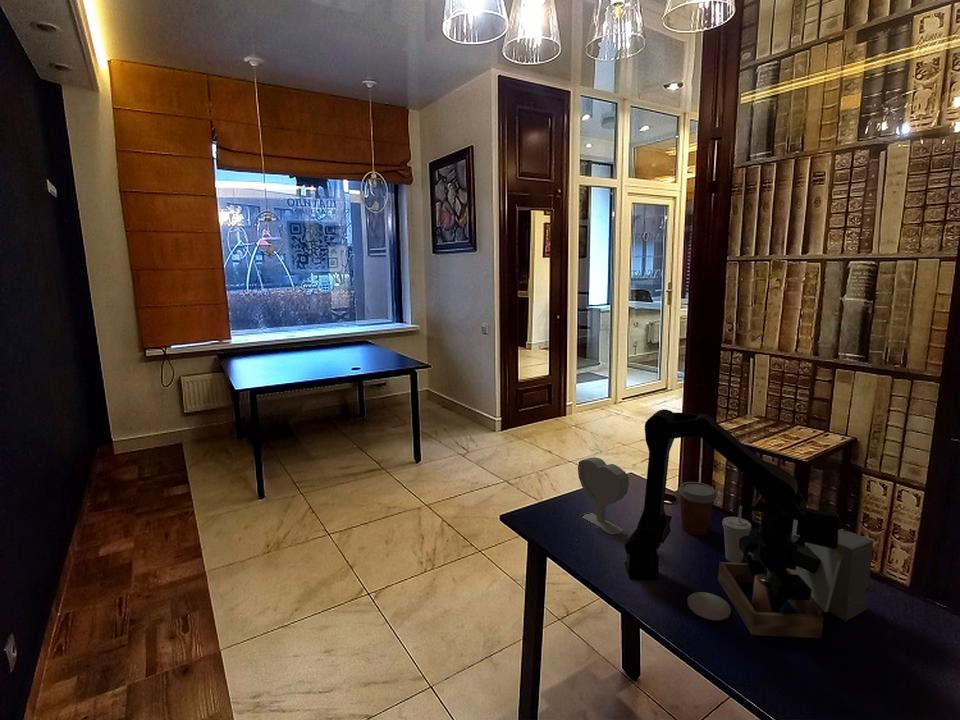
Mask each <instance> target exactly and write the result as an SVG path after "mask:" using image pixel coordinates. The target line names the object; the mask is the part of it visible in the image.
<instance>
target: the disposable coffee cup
mask: <svg viewBox="0 0 960 720" xmlns="http://www.w3.org/2000/svg"><path fill="white" fill-rule="evenodd" d="M678 495H679V501H680V515H681V528H682V529H683V531H684V532H686V533H688V534H691V535H694V536H703V535H706V534H707V533H708V528H709V525H710V519H711V517H712V516H711V515H712V511H713V507H714V501H716V498H717V493H716V491H715V489H714V487H712V486H711V485H709V484H706V483H703V482H697V481H686V482H683V483H681V484H680V486H679V488H678Z"/></svg>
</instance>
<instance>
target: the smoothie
mask: <svg viewBox="0 0 960 720" xmlns="http://www.w3.org/2000/svg"><path fill="white" fill-rule="evenodd" d="M742 512H743V506H742V505H739V508H738V516H726V517H724V518H723V519H722V521H721V522H722V523H721V524H722V526H723V536H724V537H723V538H724V554H725V559H726V560H727V562H734V563H743V559H744V555H745V553H743V552H742V551H741V549H740V548H739V539H740V538H742V537H743V536H750V532H751V531H752V523H751V522H750V521H749V520H747V519H744V518H742Z"/></svg>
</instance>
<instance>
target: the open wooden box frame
mask: <svg viewBox="0 0 960 720" xmlns="http://www.w3.org/2000/svg"><path fill="white" fill-rule="evenodd" d="M786 571H787V572H788V573H789V574H791V572H790V571H789V570H788V569H787V568H786ZM717 580H718V582H719V584H720V586H721V587H722V589H723V590H724V592H725V593H726V595H727V596H728V598H729V600H730V602H731V603H732V605H733V607H734V608H735V610H736V612H737V613H738V614H739V615H738V616H739V617H740V618H741V620H742V621H743V623H744V625H745V626H746V627H747V629H748V631H749V633H750V634H751V636H763V637H765V636H767V637H787V638H788V637H791V638H810V639H811V638H812V639H822V635H823V627H824V620H825V617H824V616H823V615H822V614H823V613H822V612H823V610H822V608H820V607H819V606H818V605H817V604H816V603H815V600H814V599H813V598H812V597H811V599H810V600H791V599H787V600H786V601H788V603H789V604H790V606H791V607H792V608H793V609H794V611H795V612H796V613H783V612H782V613H765V612H756V611H755V610H754V608H753V607H752V602H750V600H749V599H748V598H747V595H745V593H744V592H743V589H741V587H740V585H739V584H738V583H740V584H741V583H742V584H744V583H746V584H754V579H753V576H752V573H751V571H750V569H749V566H748V564H747V562H741V563H734V562H730V561H727V562H725V561H719V564H718V575H717Z"/></svg>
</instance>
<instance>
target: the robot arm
mask: <svg viewBox="0 0 960 720" xmlns="http://www.w3.org/2000/svg"><path fill="white" fill-rule="evenodd" d="M644 434H645V437H644V438H645V443H646V446H647V448H648V463H647V473H646V484H645V486H646V487H645V496H644V503H643V504H644V507H643V511H642V512H641V515H640V518H639V521H638V523H637V527H636V528H635V530H634V531H633V532H632V534H631V535H630V537H629V538H628V539H627V541H626V542H625V543H624V549H625V552H626V561H624V566H625V569H626V572H627V574H628V575H627V576H628V578H629V579H631V580H645V581H646V580H649V581H657V580H658V579H659V576H658V575H657V574H658V573H659V570H660V569H659V567H660V556H659V554H658V551H657V550H658V549H659V548H660V547H661V545H663V544H664V543H665V542H666V540H667V538H668V537H669V535H670V533H671V531H672V528H671V521H672V518H673V516H672V515H667V514H666V511H665V500H666V499H665V498H666V489H667V488H666V487H667V482H668V481H667V478H668V470H669V469H668V468H669V461H670V460H669V458H670V451H671V448H672V446H673V443H674V441H675V439H682V438H690V437H699V438H701V439H702V440H703V441H705V442H706V443H707V444H708V445H709V446H711V447H712V448H713V449H714V450H715V451H716V452H718V454H720V455H721V456H722V457H724V458H725V459H726V460H727V461H728V462H730V463H731V465H733V466H734V467H735V468H737V470H739V471H740V472H742V473H743V474H744V476H745V477H747V479H748V480H749V482H750V483H751V484H752V486H753V487H754V490H755V491H756V492H757V493H758V494H759V495H760V497H759V498H757V499H755V500H752V504H751V506H750V510H751V511H754V512H758V513H760V522H759V531H755V532H754V535H748V536H743V537H742V538H740V539H739V548H740V549H741V551H742V552H743V553H744V555H743V558H745V561H746V563H747V564H748V566H749V569H750V571H751V573H752V576H753V579H754V578H755V576H756V575H757V574H760V573H767V572H770V573H774V575H772V576H771V577H770V578H769V582H764V584H765V588H766V591H767V595H768V599H769V603H770V606H771V609H772V611H773V612H779V610H780V609H781V607H782V606H783V607H784V604H785V602H786V601H788V600H787V599H791V600H810V599H811V592H812V589H811V588H810V587H809V586H808V585H807V584H806V583H805V581H804V580H803V579H802V578H801V577H800V576H799V575H793V574H789V573H788V572H787V571H786V569H787V568H789V569H790V570H796V566H797V567H800V568H803V569H805V570H808V571H810V572H811V573H815V572H816V570H817V568H818V566H819V565H820V562H821V560H820V559H819V558H818V557H817V556H816V555H815V554H814V553H813V552H812V551H811V550H810V549H809V548H808V547H807V546H805V542H807V543H811V544H815V545H819V546H823V547H827V548H831V549H835V550H836V549H837V544H838V530H839V522H840V521H839V519H840V515H839V513H837V512H833V511H823V510H820V509H815V508H809V507H807V505H808V504H807V503H808V502H807V501H806V499H805V498H804V497H803V495H802V493H800V491H799V490H798V488H799V487H798V482H797V479H796V477H794V475H793V474H792V473H790V472H789V471H787V470H785V469H783V468H781V467H780V466H778V465H776V464H775V463H771V462H770V461H767V460H764V459H763V458H762V457H759V455H757V454H756V453H754V452H753V451H752V450H751V449H750V448H748V447H747V446H746V445H745V444H744V443H742V442H741V441H740V440H738V438H737V437H735V436H734V435H732V434H731V433H730V432H729V431H728V430H726V429H725V428H724V427H723V426H721V425H720V424H719V423H718V422H716V421H715V419H714V418H713V417H712V416H711V415H709V414H706V413H699V414H698V413H690V412H673V411H672V410H669V409H667V408H666V409H665V408H664V409H659V410H658V411H656V412H655V413H653V414H652V415H651V416H650V417H649V418H647V420H646V421H645V424H644ZM794 520H798V523H797V532H796V535H800V537H799V536H796V535H794V536H792V531H793V522H794Z"/></svg>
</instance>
